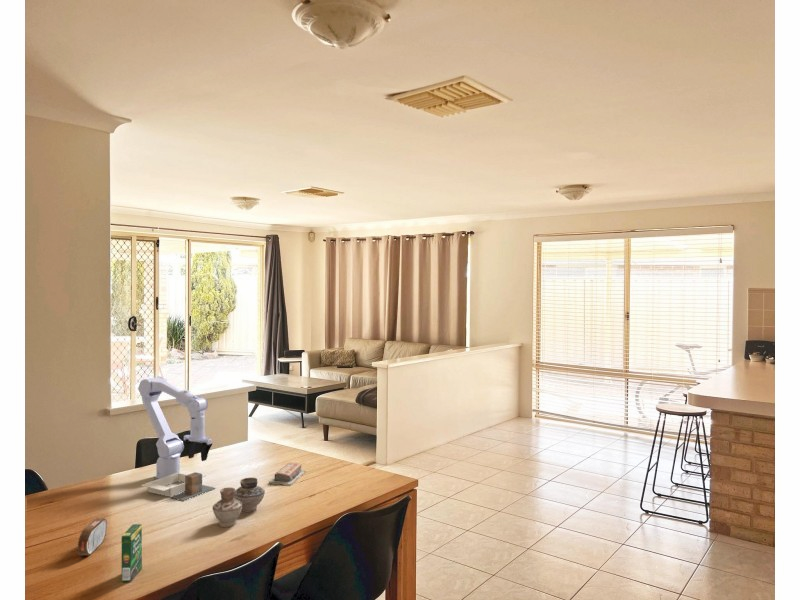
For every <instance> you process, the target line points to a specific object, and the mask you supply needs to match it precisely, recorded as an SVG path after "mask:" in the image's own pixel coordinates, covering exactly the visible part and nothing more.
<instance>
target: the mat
mask: <svg viewBox="0 0 800 600" xmlns="http://www.w3.org/2000/svg"><path fill="white" fill-rule="evenodd" d="M213 489H214V490H215V489H216V487H213V486H209V485H206V484H202V492H199V493H197V494H194V495H189V494H185V492H183V493H180V494H177V495H175V496H172V497H170V499H173V498H175V499H174V500H177V499H179V500H178V501H180V500H182V501H181V502H184V500H186V501H188V500H190V499H189V498H191V499H193V498H196V497H198V496H200V494H201V495H203V494H205V492H206V493H208V492H211V491H213ZM202 493H203V494H202ZM197 495H198V496H197ZM195 496H196V497H195ZM192 497H193V498H192ZM187 499H188V500H187Z"/></svg>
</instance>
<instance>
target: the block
mask: <svg viewBox="0 0 800 600" xmlns="http://www.w3.org/2000/svg"><path fill="white" fill-rule="evenodd" d="M202 475H203V473H201V472H196V471H195V472H193V473H192V474H189V475H186V476H185V494H189V495H194V494H197V493H199V492H202V485H203V477H202Z"/></svg>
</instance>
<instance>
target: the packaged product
mask: <svg viewBox="0 0 800 600" xmlns="http://www.w3.org/2000/svg"><path fill="white" fill-rule="evenodd" d="M304 474H306V470H302V464H301V463H299V462H288V463H286V464H285V465H284V466H283V467H282V468H280V469H279V470H278V471H277V472H275V473H274V476H273V477H272V478H271V479H270V480H268V485H276V484H282V485H281V486H290V485H291V486H292V485H293V484H294V483H295V482H297V481H298V480H299V479H300V478H301V477H302V476H303V475H304ZM301 475H302V476H301ZM300 476H301V477H300ZM299 477H300V478H299ZM298 478H299V479H298ZM297 479H298V480H297Z"/></svg>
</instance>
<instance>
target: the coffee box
mask: <svg viewBox="0 0 800 600" xmlns="http://www.w3.org/2000/svg"><path fill="white" fill-rule="evenodd" d="M142 529H143V524H141V523H136V524H135V523H134V524H131V525H130V527H129V528H128V529H127V530H126V531H125V532H124V533H123V535H121V582H122V583H132V581H133V580H134V579H135V577H136V576H137V575H138V574H139V573H140V571H141V570H142V569H143V543H142V542H143V540H142V539H143V538H142V537H143V530H142Z"/></svg>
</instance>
